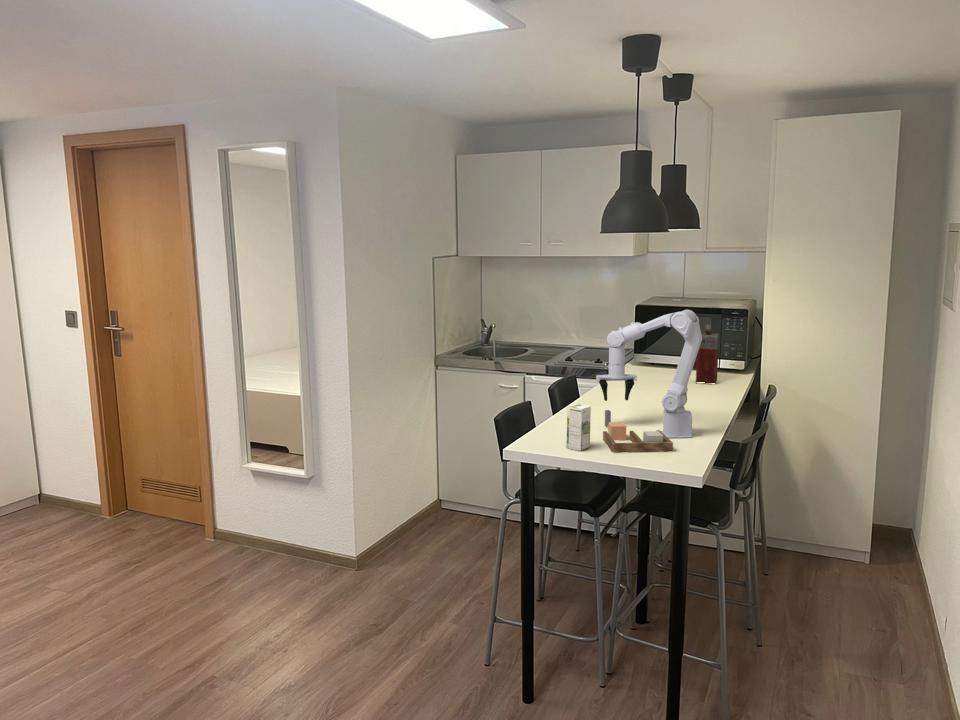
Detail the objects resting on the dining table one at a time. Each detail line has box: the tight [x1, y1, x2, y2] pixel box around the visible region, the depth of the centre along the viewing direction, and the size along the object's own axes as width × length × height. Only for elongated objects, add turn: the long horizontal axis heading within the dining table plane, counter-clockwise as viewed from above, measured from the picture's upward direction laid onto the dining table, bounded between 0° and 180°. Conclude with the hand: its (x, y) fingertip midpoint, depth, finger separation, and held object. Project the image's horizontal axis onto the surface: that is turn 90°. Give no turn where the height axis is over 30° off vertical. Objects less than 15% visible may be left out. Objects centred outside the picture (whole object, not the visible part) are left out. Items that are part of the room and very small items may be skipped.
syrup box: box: [566, 403, 592, 452], centre depth 241 cm, size 6×6×14 cm
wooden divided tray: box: [602, 429, 674, 453], centre depth 245 cm, size 20×16×3 cm
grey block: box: [642, 430, 663, 442], centre depth 242 cm, size 5×6×5 cm
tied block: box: [604, 409, 627, 441], centre depth 261 cm, size 5×20×6 cm, turn 2°
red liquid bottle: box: [693, 324, 720, 384], centre depth 351 cm, size 9×11×28 cm
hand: (616, 400), depth 267 cm, fingers open, 7 cm apart
